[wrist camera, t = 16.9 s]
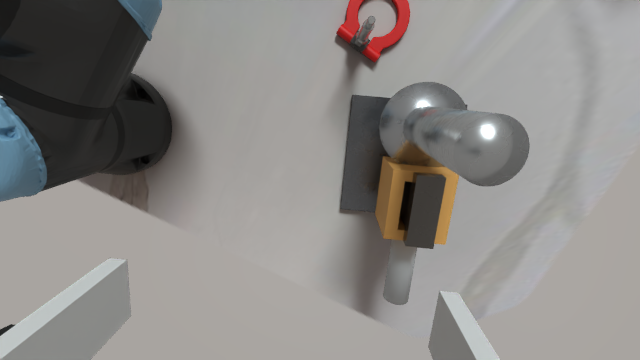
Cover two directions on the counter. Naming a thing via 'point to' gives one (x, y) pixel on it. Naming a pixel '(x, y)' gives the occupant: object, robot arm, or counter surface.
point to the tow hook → (361, 37)
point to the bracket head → (394, 226)
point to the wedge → (422, 209)
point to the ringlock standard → (427, 140)
